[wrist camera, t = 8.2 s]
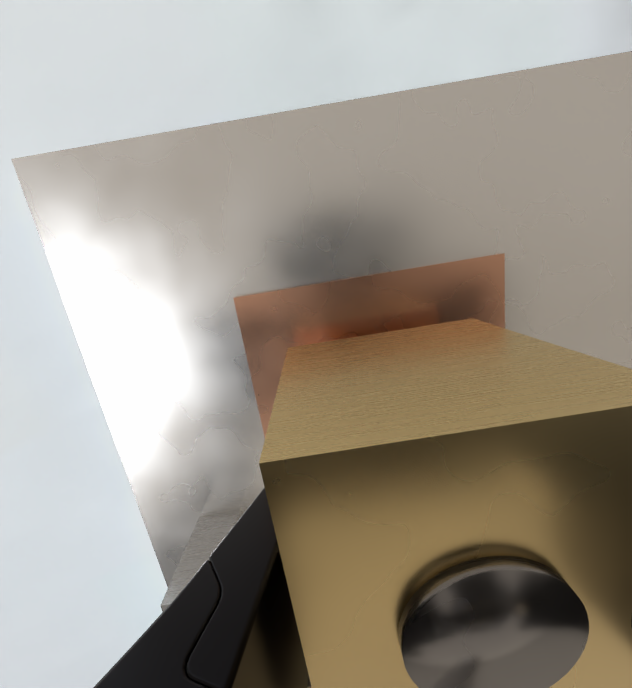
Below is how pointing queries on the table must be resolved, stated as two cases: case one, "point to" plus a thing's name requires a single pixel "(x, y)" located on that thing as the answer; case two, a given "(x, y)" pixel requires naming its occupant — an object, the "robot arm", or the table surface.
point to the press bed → (327, 258)
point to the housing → (454, 509)
